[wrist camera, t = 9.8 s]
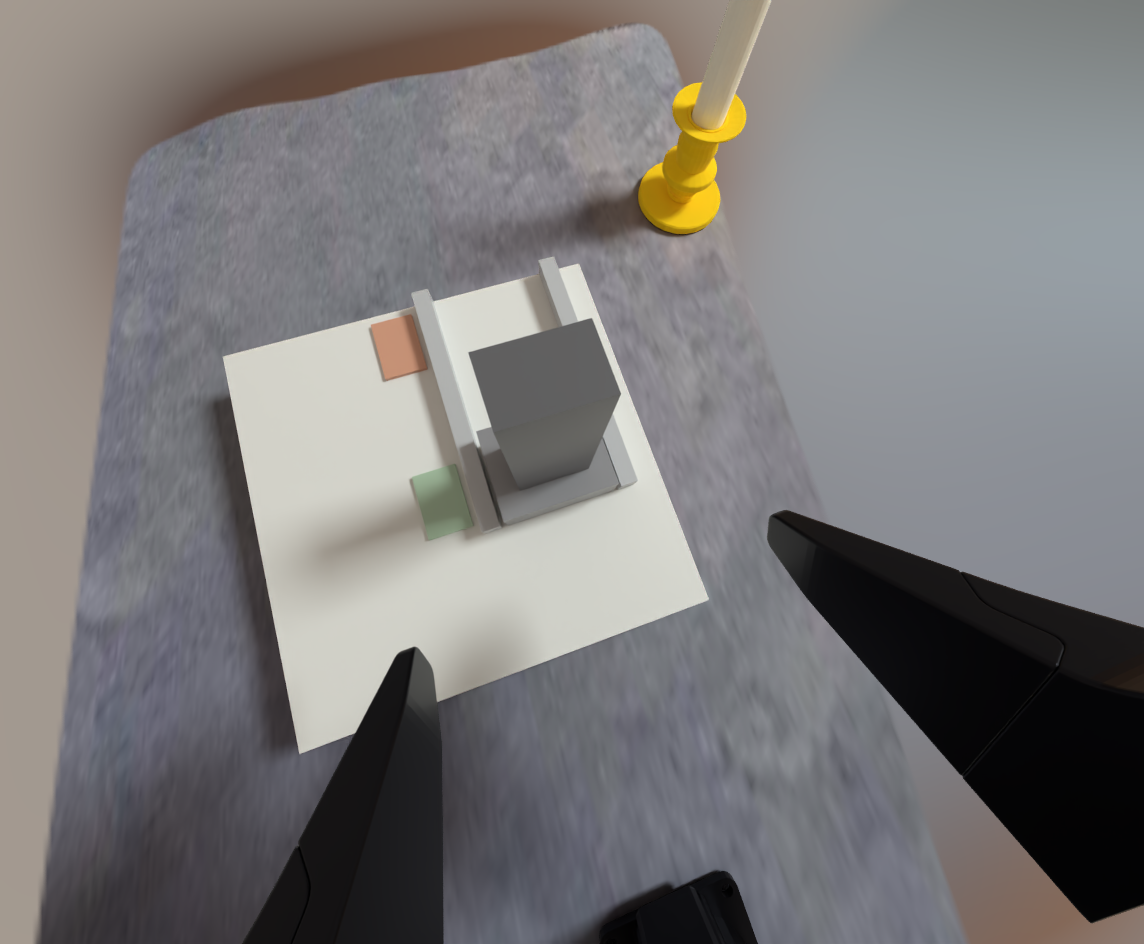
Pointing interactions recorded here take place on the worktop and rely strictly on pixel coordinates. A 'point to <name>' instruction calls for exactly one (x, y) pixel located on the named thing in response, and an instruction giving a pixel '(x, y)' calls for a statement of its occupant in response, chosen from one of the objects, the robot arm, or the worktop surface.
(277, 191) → the worktop surface
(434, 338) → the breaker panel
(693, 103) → the candle
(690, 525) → the worktop surface
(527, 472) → the handle
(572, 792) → the worktop surface
